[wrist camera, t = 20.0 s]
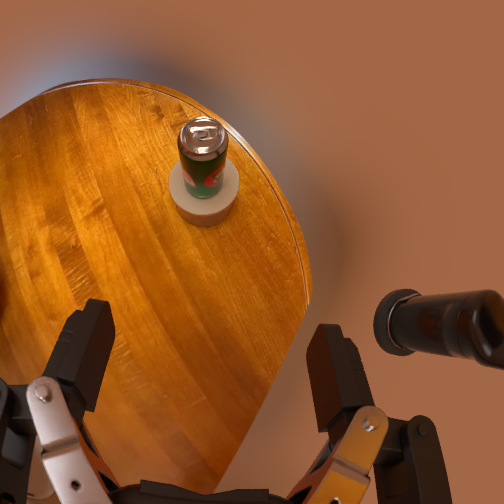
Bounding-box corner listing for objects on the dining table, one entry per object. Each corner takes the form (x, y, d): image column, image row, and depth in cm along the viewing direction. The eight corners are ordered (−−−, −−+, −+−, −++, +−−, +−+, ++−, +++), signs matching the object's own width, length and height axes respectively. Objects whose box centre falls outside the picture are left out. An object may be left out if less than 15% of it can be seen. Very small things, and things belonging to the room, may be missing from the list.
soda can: (181, 168, 38) (173, 118, 27) (218, 161, 39) (223, 109, 28) (188, 203, 38) (180, 161, 26) (226, 195, 39) (234, 151, 27)
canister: (246, 189, 47) (252, 171, 40) (214, 239, 45) (215, 228, 38) (195, 160, 46) (194, 139, 39) (162, 208, 44) (154, 192, 37)
